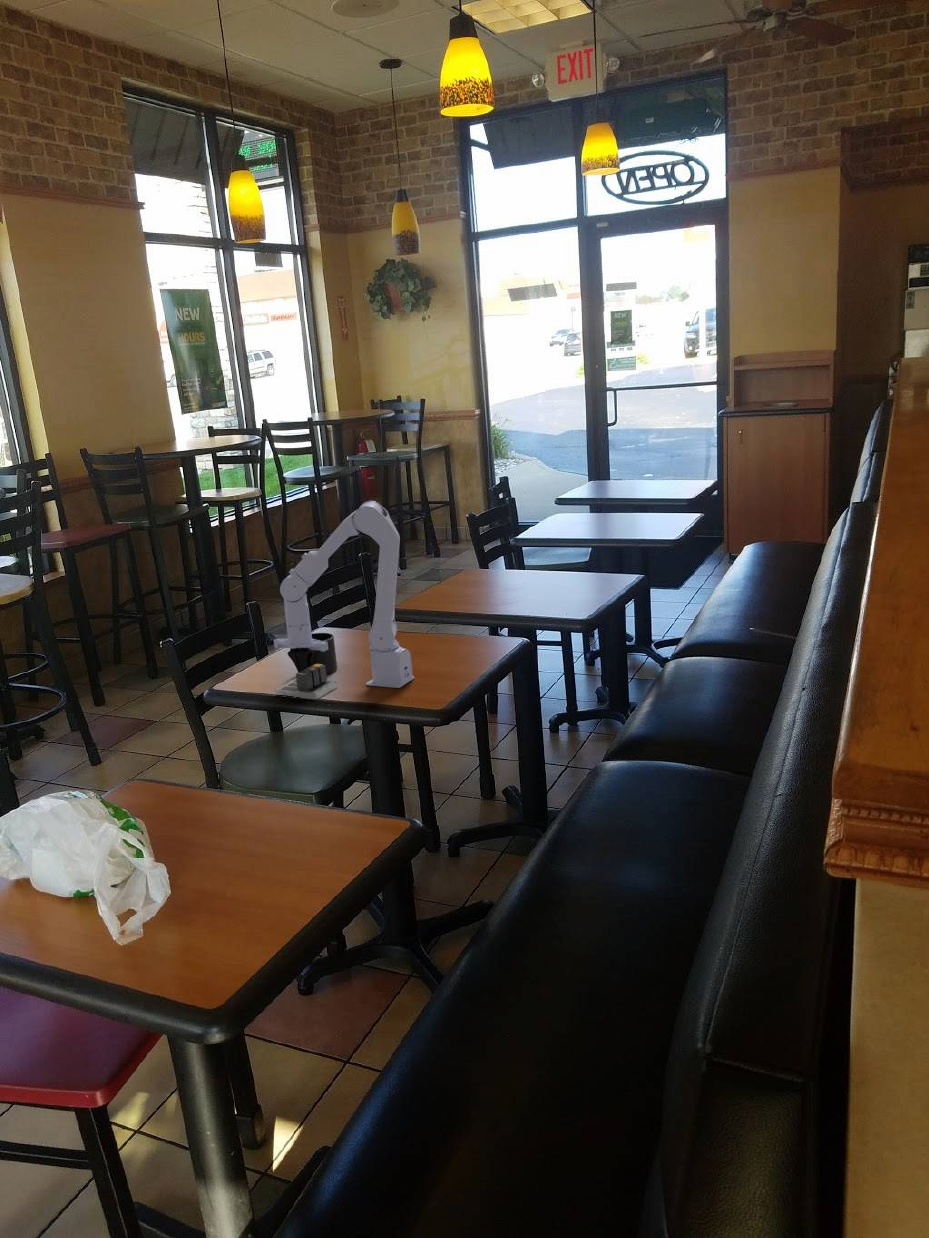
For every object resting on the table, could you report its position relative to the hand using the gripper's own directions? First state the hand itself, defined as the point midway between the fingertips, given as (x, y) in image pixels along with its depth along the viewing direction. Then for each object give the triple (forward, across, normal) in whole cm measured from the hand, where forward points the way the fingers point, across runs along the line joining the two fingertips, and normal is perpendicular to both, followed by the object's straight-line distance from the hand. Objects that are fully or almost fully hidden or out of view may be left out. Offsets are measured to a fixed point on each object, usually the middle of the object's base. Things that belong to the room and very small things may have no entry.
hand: (304, 677), depth 235 cm
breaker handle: (+1, +4, 0) cm, 4 cm away
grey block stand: (+3, +2, -2) cm, 4 cm away
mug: (+3, -4, +14) cm, 15 cm away
